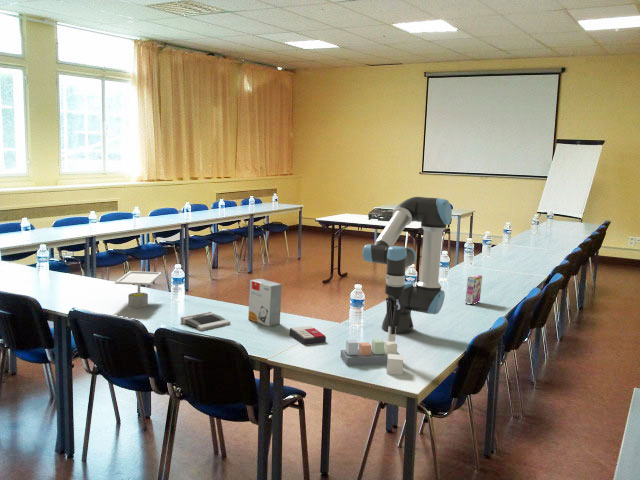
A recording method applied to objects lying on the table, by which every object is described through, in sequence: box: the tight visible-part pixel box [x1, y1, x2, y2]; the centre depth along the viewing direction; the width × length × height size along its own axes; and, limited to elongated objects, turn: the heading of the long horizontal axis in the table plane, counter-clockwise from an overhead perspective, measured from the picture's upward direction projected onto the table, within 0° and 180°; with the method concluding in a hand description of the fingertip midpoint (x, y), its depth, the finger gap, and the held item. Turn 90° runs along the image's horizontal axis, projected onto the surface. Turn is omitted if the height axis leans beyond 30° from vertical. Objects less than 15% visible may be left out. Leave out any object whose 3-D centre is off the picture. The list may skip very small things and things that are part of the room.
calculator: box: [289, 325, 327, 346], centre depth 271 cm, size 11×4×15 cm
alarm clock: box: [180, 311, 231, 332], centre depth 286 cm, size 17×5×16 cm
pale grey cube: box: [386, 354, 404, 376], centre depth 235 cm, size 6×6×6 cm
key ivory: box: [384, 341, 398, 355], centre depth 247 cm, size 4×4×5 cm
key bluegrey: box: [345, 339, 359, 355], centre depth 244 cm, size 4×4×5 cm
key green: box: [371, 338, 386, 354], centre depth 246 cm, size 4×4×5 cm
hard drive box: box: [247, 278, 283, 327], centre depth 293 cm, size 16×8×20 cm, turn 47°
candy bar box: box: [465, 274, 483, 304], centre depth 353 cm, size 11×5×16 cm, turn 144°
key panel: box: [340, 348, 401, 366], centre depth 246 cm, size 23×10×3 cm, turn 102°
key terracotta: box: [358, 342, 372, 355], centre depth 245 cm, size 4×4×5 cm
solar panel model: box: [114, 270, 163, 309], centre depth 313 cm, size 28×17×15 cm, turn 2°
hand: (391, 340), depth 247 cm, fingers closed
